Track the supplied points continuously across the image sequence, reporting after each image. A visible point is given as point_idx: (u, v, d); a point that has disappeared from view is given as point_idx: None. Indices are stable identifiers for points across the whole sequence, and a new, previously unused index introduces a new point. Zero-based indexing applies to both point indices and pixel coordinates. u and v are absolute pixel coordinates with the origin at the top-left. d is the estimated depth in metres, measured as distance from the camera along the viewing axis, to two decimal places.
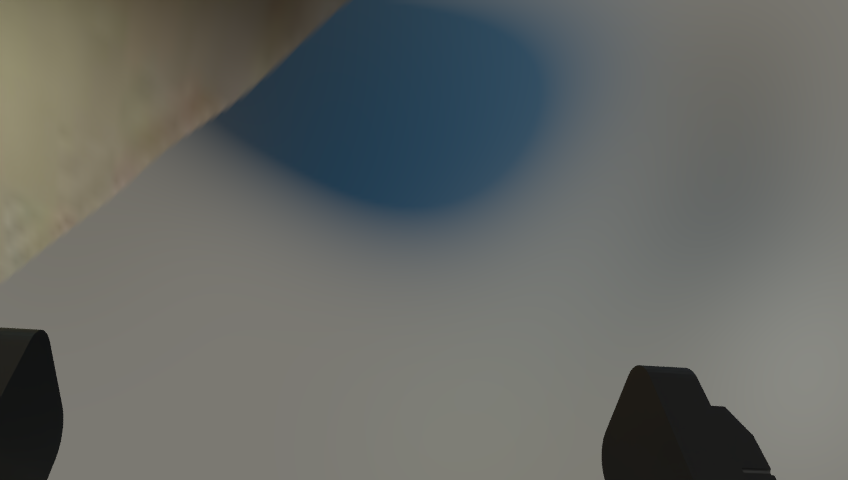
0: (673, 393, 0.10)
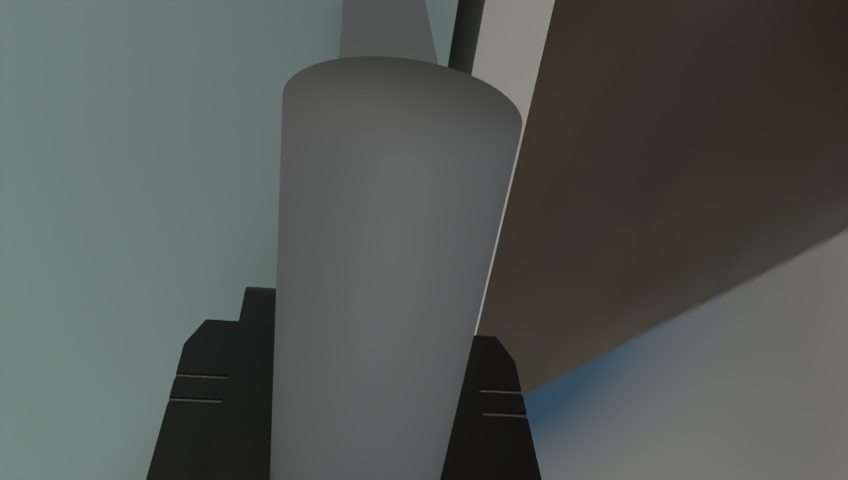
0: None
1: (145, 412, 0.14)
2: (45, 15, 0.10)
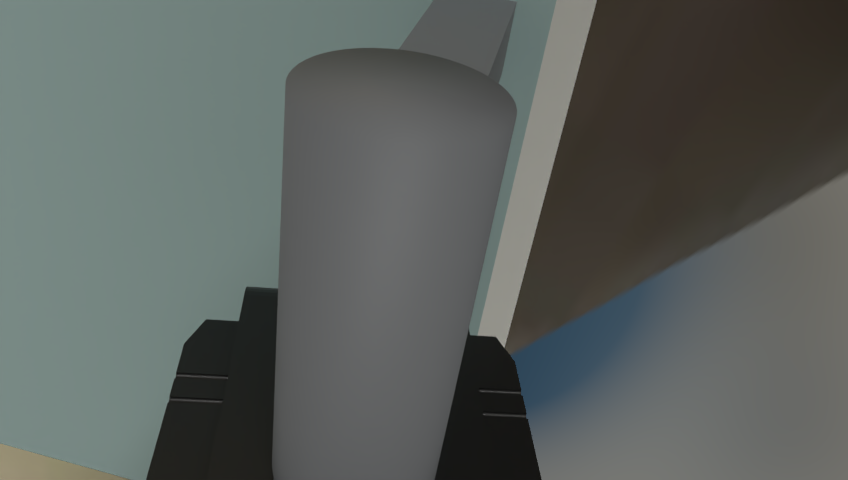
0: None
1: None
2: (179, 0, 0.11)
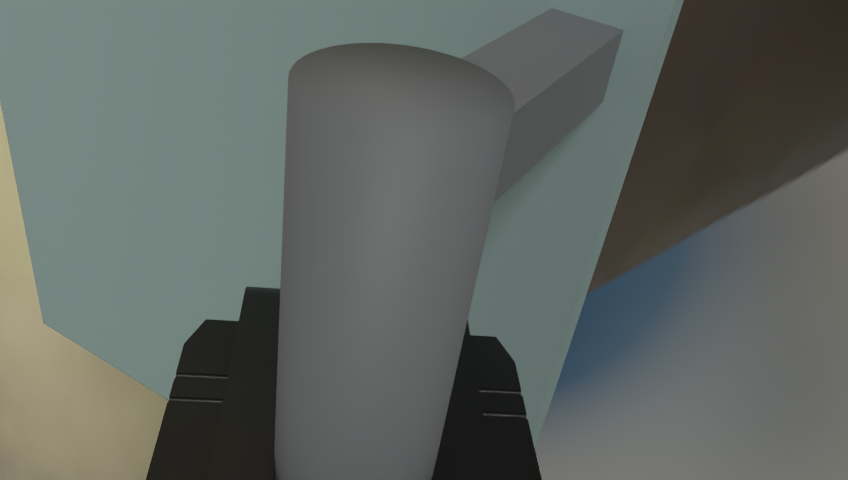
0: None
1: None
2: (316, 0, 0.12)
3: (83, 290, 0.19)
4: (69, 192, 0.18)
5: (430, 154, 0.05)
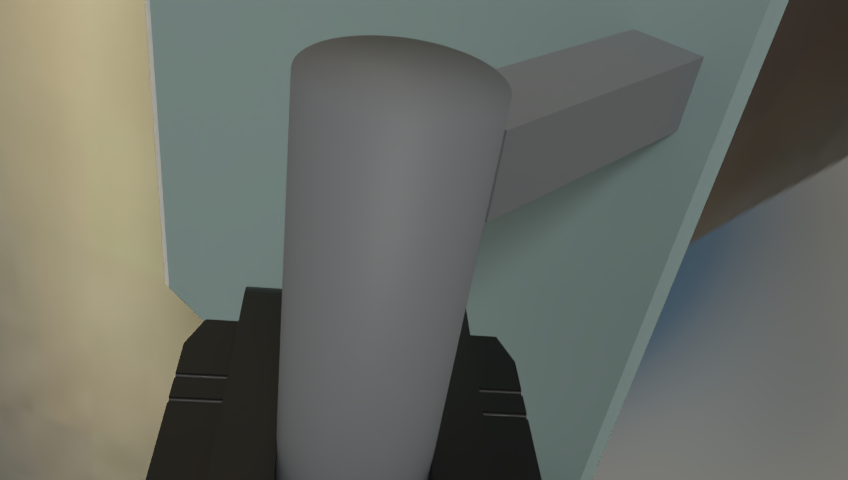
0: None
1: None
2: (417, 6, 0.12)
3: (202, 262, 0.21)
4: (200, 169, 0.19)
5: (399, 140, 0.06)
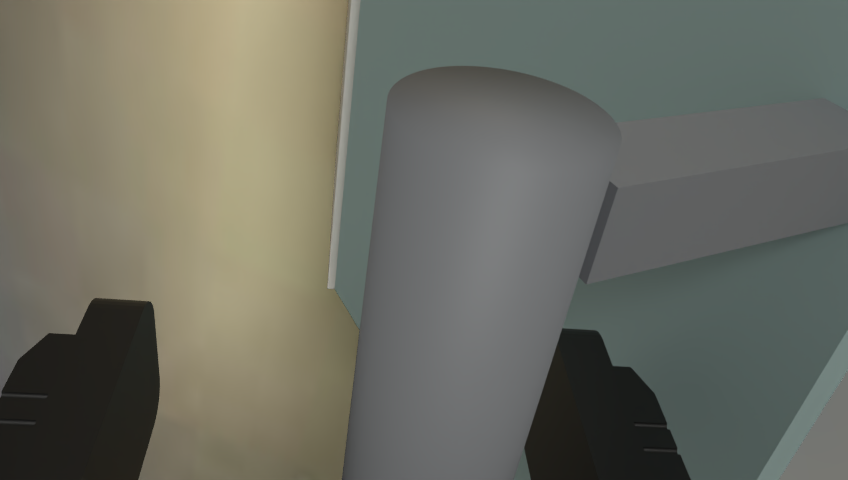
0: (577, 352, 0.10)
1: None
2: (596, 48, 0.12)
3: (365, 270, 0.22)
4: (376, 182, 0.20)
5: (472, 179, 0.05)
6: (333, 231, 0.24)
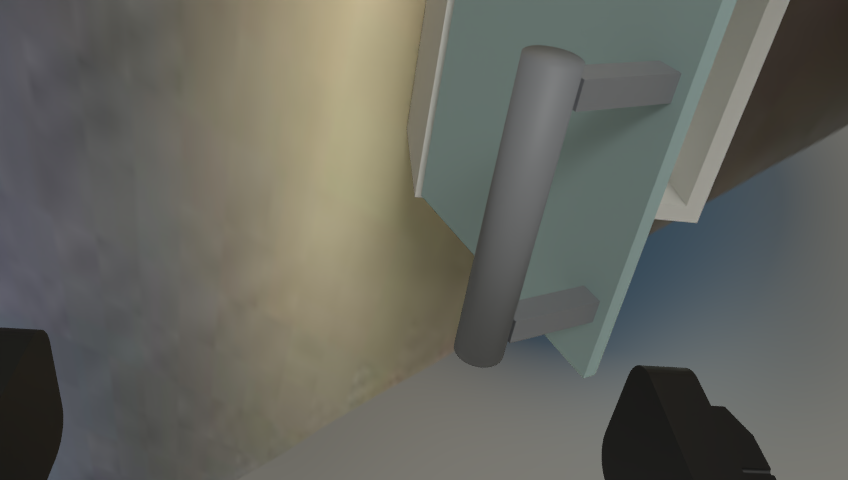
0: (673, 393, 0.10)
1: (542, 228, 0.31)
2: (579, 44, 0.27)
3: (446, 177, 0.37)
4: (457, 122, 0.35)
5: (547, 71, 0.20)
6: (422, 159, 0.39)
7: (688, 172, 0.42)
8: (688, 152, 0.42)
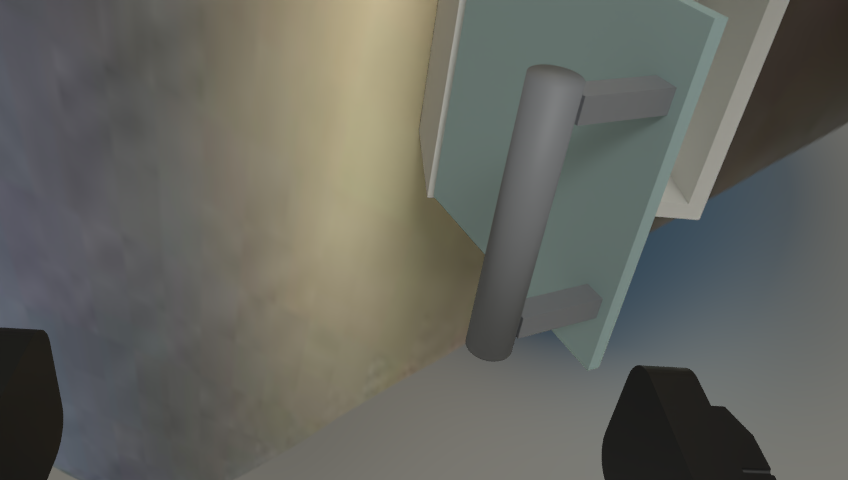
0: (673, 393, 0.10)
1: (548, 229, 0.32)
2: (582, 57, 0.29)
3: (457, 179, 0.39)
4: (467, 127, 0.37)
5: (550, 90, 0.22)
6: (434, 161, 0.41)
7: (691, 172, 0.44)
8: (690, 152, 0.44)
